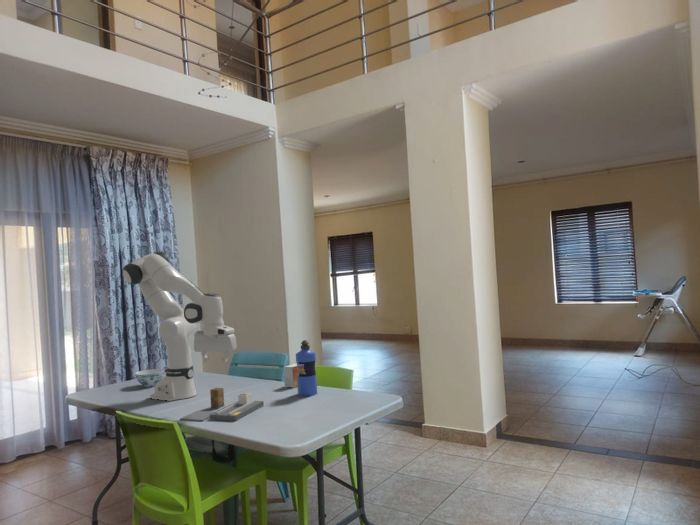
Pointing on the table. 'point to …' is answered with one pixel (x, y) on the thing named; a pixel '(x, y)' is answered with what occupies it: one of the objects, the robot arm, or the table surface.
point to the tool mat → (197, 416)
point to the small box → (290, 375)
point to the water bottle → (306, 370)
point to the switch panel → (236, 411)
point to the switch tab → (244, 398)
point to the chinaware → (149, 377)
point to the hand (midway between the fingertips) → (215, 361)
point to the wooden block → (217, 397)
